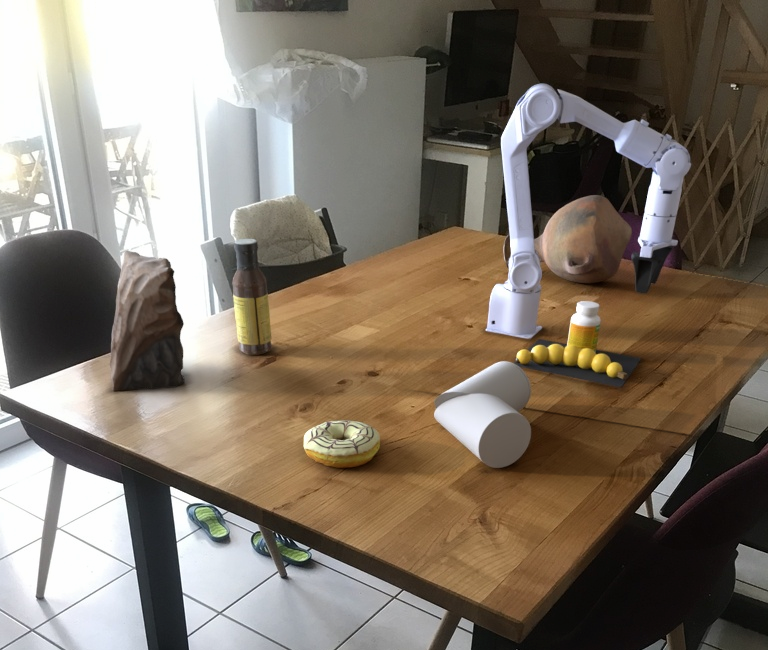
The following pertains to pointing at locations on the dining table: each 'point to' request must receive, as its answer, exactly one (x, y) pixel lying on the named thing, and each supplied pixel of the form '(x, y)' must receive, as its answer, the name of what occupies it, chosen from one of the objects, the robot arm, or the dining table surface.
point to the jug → (582, 241)
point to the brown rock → (146, 326)
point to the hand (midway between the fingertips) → (645, 287)
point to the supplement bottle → (585, 326)
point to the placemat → (584, 374)
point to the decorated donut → (342, 443)
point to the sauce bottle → (251, 300)
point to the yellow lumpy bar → (571, 358)
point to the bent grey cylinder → (489, 413)
